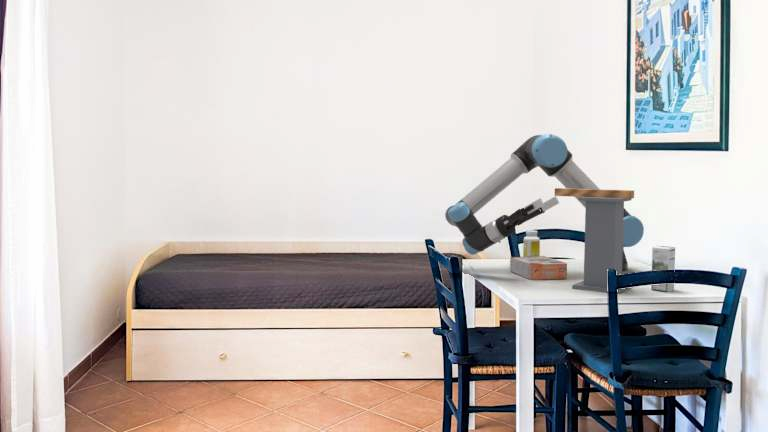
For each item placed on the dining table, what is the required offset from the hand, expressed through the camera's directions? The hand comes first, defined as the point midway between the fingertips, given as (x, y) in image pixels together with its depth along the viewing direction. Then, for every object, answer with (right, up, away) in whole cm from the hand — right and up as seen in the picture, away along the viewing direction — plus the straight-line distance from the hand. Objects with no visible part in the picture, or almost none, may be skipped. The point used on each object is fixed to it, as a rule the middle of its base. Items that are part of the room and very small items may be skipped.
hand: (550, 200), depth 272 cm
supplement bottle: (+4, -25, +56) cm, 61 cm away
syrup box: (+35, -30, -11) cm, 47 cm away
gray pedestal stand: (+16, -30, -8) cm, 34 cm away
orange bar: (+13, +1, -8) cm, 15 cm away
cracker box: (-3, -23, +29) cm, 37 cm away
